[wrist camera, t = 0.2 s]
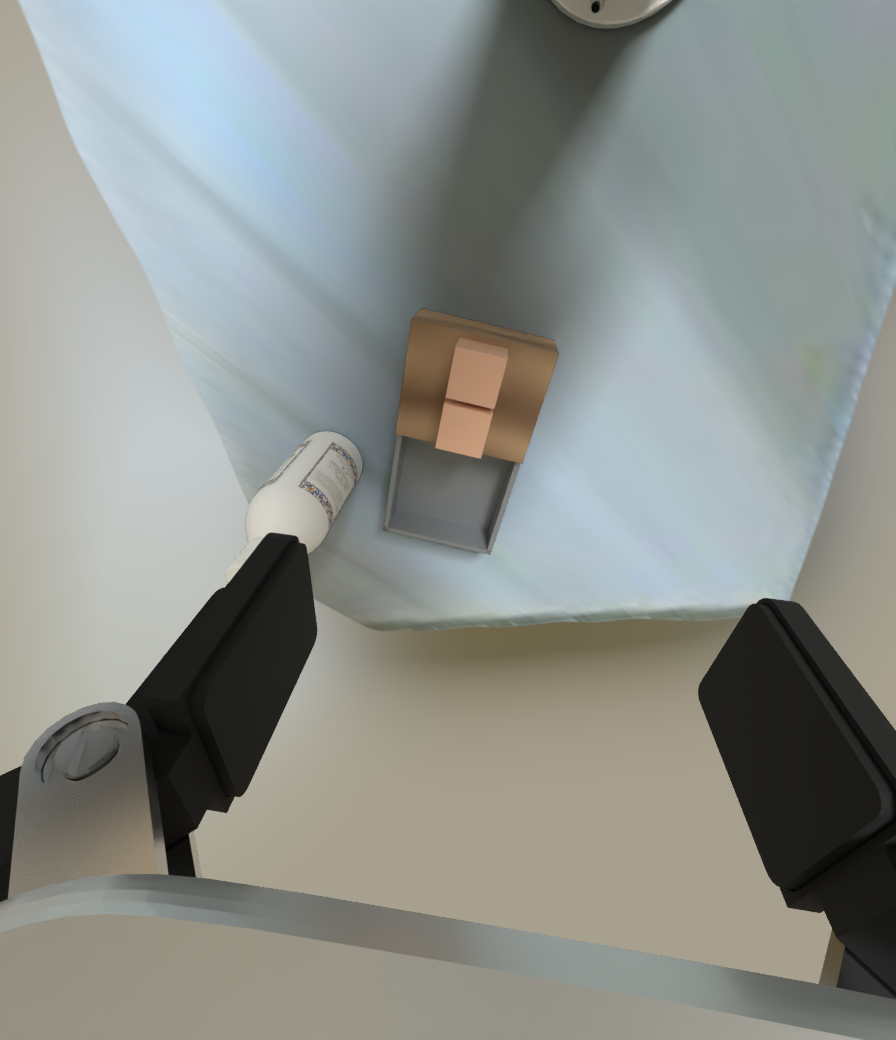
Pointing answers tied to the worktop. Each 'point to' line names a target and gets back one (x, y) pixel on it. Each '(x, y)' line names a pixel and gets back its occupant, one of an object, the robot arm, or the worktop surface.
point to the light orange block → (463, 428)
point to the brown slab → (431, 374)
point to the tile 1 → (476, 373)
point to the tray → (447, 495)
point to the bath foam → (303, 494)
